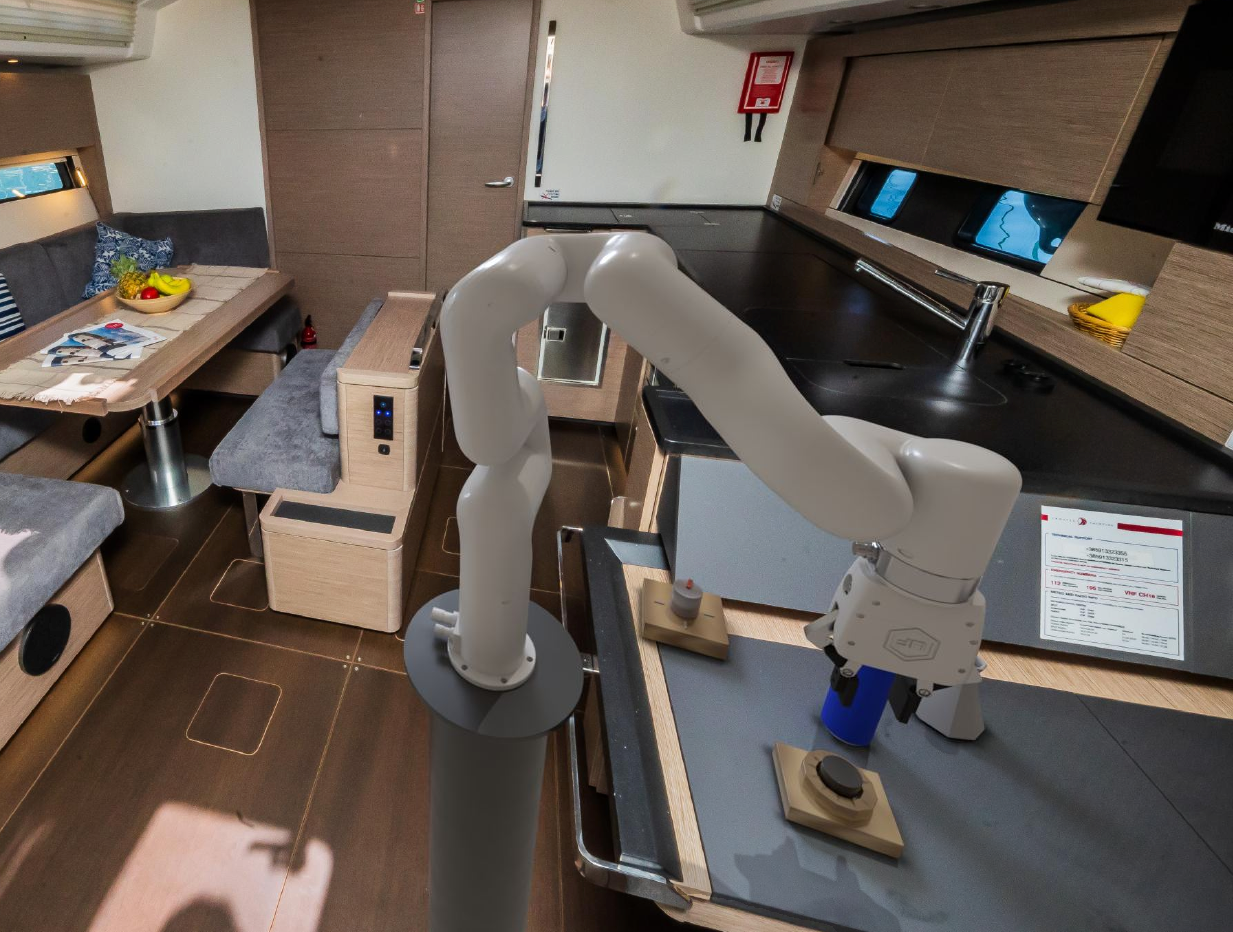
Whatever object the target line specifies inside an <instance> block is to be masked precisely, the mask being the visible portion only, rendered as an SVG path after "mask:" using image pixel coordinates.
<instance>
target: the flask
mask: <svg viewBox="0 0 1233 932" xmlns="http://www.w3.org/2000/svg"><path fill="white" fill-rule="evenodd" d="M974 665H975V666H976V668H977V670H978V672H979V673H980V674H981V673H982V672H983V671H984V670H985V669H987V667H988V664H987V663H986V662H985V661H984V660H983V659H982V657H980V655H977V658H976V661H975V664H974ZM978 684H979V683H972V684H963V685H960V686H953V687H949V688H945V689H941V690H936V691H933V694H932V696H931V697H929V698H922V700H921V702H920V704H919V707H918V709H917V711H916V713H915V714H916V716H917V717H918V719H919V720H921V721H923V722H925V724H927V725H929V726H931V727H932V728H933V729H935V730H937V731H938V732H940V733H941V734H943V735H944V736H946V737H947V738H952V739H960V740H968V741H969V740H970V741H971V740H972V741H976V739H977V738H978V737H979V736H980V735H981V734H982V733H983V732H984V731H985V730H986V728H985V723H984V722H985V721H984V718H983V713H982V708H981V703H980V697H979V691H978V690H979V689H978Z"/></svg>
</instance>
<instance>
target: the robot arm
mask: <svg viewBox="0 0 1233 932" xmlns="http://www.w3.org/2000/svg"><path fill="white" fill-rule="evenodd" d="M678 267H679V265H678V259H677V257H676V254H675V252H674V250H673V249H672V247H671V246H670V245H669V244H668V242H666V241H665V240H664V239H662V238H660V237H659V236H657V235H654V234H652V233H648V232H647V233H646V232H641V231H640V232H639V231H620V232H619V231H618V232H617V231H616V232H594V233H592V232H591V233H563V234H539V235H531V236H527V237H524V238H521V239H519V240H516V241H514V242H513V243H511V244H510V245H508V246H507V247H506V248H504V249H502V250H501V251H499V252H498V253H496V254H495V255H493V256H491V257H490V258H488V259H487V260H486V261H484V262H483V263H481V264H480V265H479V266H477V267H476V268H474V269H473V270H471V271H470V272H469V273H467V274H466V275H465V276H463V277H462V278H461V279H460V280H458V281H457V282H456V283H455V284H454V285H453V286H452V288H451V289H450V290H449V292H448V293H447V295H446V297H445V298H444V301H443V303H442V306H441V309H440V315H439V333H440V338H441V339H440V340H441V345H442V350H443V351H442V352H443V356H444V361H445V368H446V369H445V370H446V378H447V387H448V394H449V401H450V408H451V413H452V422H453V429H454V433H455V438H456V441H457V443H458V446H459V448H460V450H461V452H462V453H463V455H464V456H465V457H466V458H467V459H469V461H471V462H472V463H474V464H476V465H475V467H474V469H473V470H472V472H471V474H470V475H469V476H468V478H467V479H466V481H465V483H464V485H463V486H462V488H461V491H460V493H459V496H458V499H457V503H456V520H457V526H458V533H459V546H460V549H459V550H460V551H459V552H460V553H459V589H460V594H459V612H456V611H454V613H450V612H446V611H445V610H442V609H439V608H436V607H434V608H433V610H432V614H431V620H433V621H436V622H439V623H445V624H448V625H451V628H448V627H445V626H443V625H440V624H436V625H435V629H434V633H436V634H439V635H442V636H443V635H444V636H447V637H448V655H449V658H450V661H451V663H452V665H453V666H454V668H455V669H456V671H457V672H458V673H459V674H460V675H461V676H462V677H463V678H465V679H466V680H467V681H469V682H470V683H472V684H474V685H476V686H478V687H481V688H484V689H489V690H494V691H504V690H510V689H513V688H516V687H518V686H520V685H522V684H523V683H525V682H526V681H527V680H528V679H529V678H530V677H531V675H532V673H533V671H534V667H535V662H536V653H535V648H534V645H533V642H532V641H531V639H530V637H529V636H528V634H527V633H526V632H527V620H528V608H529V600H530V597H531V596H530V593H531V583H532V571H533V569H532V568H533V544H532V539H533V538H532V537H533V529H534V525H535V521H536V517H537V514H538V512H539V509H540V507H541V505H542V502H543V499H544V497H545V495H546V492H547V491H548V487H549V485H550V482H551V478H552V474H553V457H552V456H553V455H552V445H551V437H550V427H549V416H548V406H547V401H546V396H545V393H544V390H543V388H542V386H541V384H540V382H539V381H538V380H537V378H535V376H534V375H533V374H531V372H529V371H528V370H526V369H524V368H523V367H520V366H519V365H518V357H517V352H516V349H515V346H514V343H513V340H512V337H513V335H514V334H515V333H516V332H517V331H519V330H520V329H521V328H523V327H525V326H528V325H530V324H531V323H532V322H535V320H538V319H539V318H540V317H541V316H542V315H543V314H545V312H546V311H547V310H548V308H550V307H551V306H552V304H553V303H581V304H583V303H586V305H587V307H588V308H589V309H590V311H591V312H592V314H593V315H595V317H596V318H597V319H598V320H600V321H601V323H603V324H604V325H605V326H606V327H607V328H608V329H610V330H611V331H612V332H613V333H614V334H616V335H617V337H619V338H621V340H623V341H624V342H625V343H626V344H628V345H629V346H630V347H631V348H633V349H634V350H635V351H636V352H637V353H639V355H641V356H642V357H643V358H644V359H646V360H647V361H648V362H649V363H650V364H651V365H653V366H654V367H655V368H656V369H657V370H658V371H660V372H661V373H662V374H663V375H664V376H665V377H666V378H667V379H669V381H671V382H672V383H673V384H675V386H677V387H678V388H679V389H680V390H681V391H682V392H683V393H685V394H686V395H687V396H688V397H689V399H690V400H691V401H692V402H693V404H694V406H696V408H697V410H698V411H699V412H700V413H701V414H702V416H703V418H705V420H706V421H707V422H708V423H709V425H711V426H712V428H713V429H714V430H715V431H716V433H717V434H718V435H719V436H720V437H721V438H722V440H724V442H725V443H726V444H727V446H728V447H729V448H730V449H731V451H733V452H734V454H735V455H736V456H737V457H738V458H739V460H740V461H741V462H742V463H743V464H744V466H746V467H747V468H748V470H749V471H750V472H751V473H752V474H754V475H755V477H756V478H758V479H759V480H760V482H762V483H763V484H764V485H765V486H766V487H767V488H768V489H769V490H770V491H772V492H773V493H774V495H776V496H778V498H780V499H781V500H782V501H784V503H785V504H787V505H788V506H789V507H791V508H792V509H793V510H794V511H795V512H796V513H798V514H799V515H800V516H801V517H802V518H803V519H805V520H806V521H807V522H809V523H810V524H812V525H813V526H814V527H816V528H817V529H819V530H821V531H823V532H825V533H827V534H829V535H830V536H833V537H836V538H838V539H841V540H845V541H848V542H852V545H851V552H852V555H853V556H858V557H857V558H856V560H854V562H853V563H852V565H851V566H850V567H849V568H848V570H847V572H846V573H845V575H844V576H843V577H842V579H841V582H840V583H839V585H838V587H837V589H836V590H835V594H834V595H833V598H832V600H831V603H830V605H829V608H828V610H827V613H826V614H825V615H823V616H821V617H819V618H817V619H816V620H815V619H814V621H812V622H810V623H807V624H806V625H805V626H803V632H804V635H805V638H806V640H807V641H808V642H809V643H811V644H812V645H813V646H815V647H816V648H817V649H819V650H821V651H823V652H824V654H825V656H827V658H828V659H829V660H830V661H831V662H832V663H833V664H834V666H833V669H832V671H831V675H830V677H829V678H830V679H829V684H830V685H831V688H832V690H833V691H836V692H837V695H838V698H839V700H840V703H841V706H844V707H847V708H848V707H851V705H852V702H853V700H854V697H855V694H856V691H857V689H858V686H859V679H858V676H857V674H856V673H857V672H858V671H859V669H860V668H861V667H862V665H866V666H870V667H874V668H878V669H881V670H885V671H889V672H893V673H896V676H895V678H894V681H893V683H892V686H891V688H890V691H889V693H888V696H887V697H888V701H887V702H889V706H890V708H891V711H892V712H893V715H894V718H895V719H896V721H898V723H900V724H904V725H908V723H909V721H910V718H911V716H912V714H916V711H917V709H918V707H919V704H920V702H921V700H922V698H929V697H931V696H932V694H933V691H936V690H941V689H945V688H949V687H953V686H960V685H963V684H972V683H978V684H980V683H982V682H983V677H982V675H981V672H980V673H979V672H978V670H977V668H976V666H975V665H974V664H975V661H976V658H977V656H979V655H978V654H979V651H980V647H981V644H982V639H983V634H984V629H985V628H984V627H985V619H986V607H987V605H986V603H987V601H986V598H985V596H984V594H983V593H982V592H981V591H980V590H979V586H980V584H981V582H982V580H983V577H984V576H985V572H986V570H987V567H988V565H989V563H990V560H991V559H992V556H993V554H994V552H995V549H996V547H997V545H998V543H999V540H1000V538H1001V536H1002V533H1003V531H1004V529H1005V527H1006V525H1007V522H1008V520H1009V517H1010V515H1011V513H1012V511H1013V508H1014V506H1015V504H1016V502H1017V500H1018V497H1019V495H1020V492H1021V490H1022V486H1023V479H1022V478H1023V477H1022V474H1021V471H1020V470H1019V469H1018V467H1017V466H1016V465H1015V464H1013V463H1012V462H1011V461H1010V460H1008V459H1007V458H1006V457H1004V456H1003V455H1001V454H1000V453H997V452H995V451H993V450H990V449H987V448H985V447H982V446H980V445H976V444H973V443H969V442H965V441H960V440H955V439H950V438H937V437H935V438H932V437H931V438H930V437H929V438H925V437H922V436H918V435H914V434H910V433H907V432H903V431H900V430H897V429H893V428H889V427H886V426H883V425H880V424H877V423H873V422H870V421H868V420H863V419H860V418H855V417H851V416H845V415H836V414H835V415H833V414H832V415H831V414H830V415H828V414H827V415H821V414H820V413H818V411H817V410H816V409H815V408H814V407H813V406H812V405H811V404H810V402H809V401H808V400H806V398H805V397H804V396H803V394H801V392H800V391H799V390H798V388H797V387H796V385H795V384H794V383H793V381H792V380H791V379H790V377H789V376H788V374H787V372H786V370H785V369H784V367H783V366H782V364H781V363H780V361H779V359H778V358H777V356H776V355H775V353H774V351H773V350H772V348H771V347H770V346H769V345H768V344H767V342H766V341H765V339H763V338H762V337H761V335H759V333H758V332H756V331H755V330H754V329H753V328H752V327H750V326H749V325H748V324H746V323H745V322H743V320H741V319H740V318H739V317H738V316H736V315H735V314H734V313H733V312H731V311H730V310H729V309H727V307H725V306H724V305H722V303H720V302H719V301H718V300H716V299H715V298H714V297H713V296H711V294H709V293H708V292H707V291H705V290H704V289H703V288H701V286H699V285H698V284H697V283H696V282H695V281H693V280H692V279H691V278H690V277H689V276H687V275H686V274H685V273H683V271H681V270H680V269H678ZM831 636H832V637H831Z"/></svg>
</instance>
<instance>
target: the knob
mask: <svg viewBox="0 0 1233 932" xmlns="http://www.w3.org/2000/svg"><path fill="white" fill-rule="evenodd" d="M672 585H673V587H672V593H671V598H670V603H669V606H670V608H671V610H672V611H673V612H674V613H675V614H677V615H678V616H680V617H683V618H687V619H693V618H696V617H697V616H698V614H699V610H700V605H701V601H702V596H703V592H704V591H703V589H702V587H701V586H700V585H698V584H697V583H696V582H694V579H691V578H688V579H685V578H679V579H676V580H674V581H673V583H672Z"/></svg>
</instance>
